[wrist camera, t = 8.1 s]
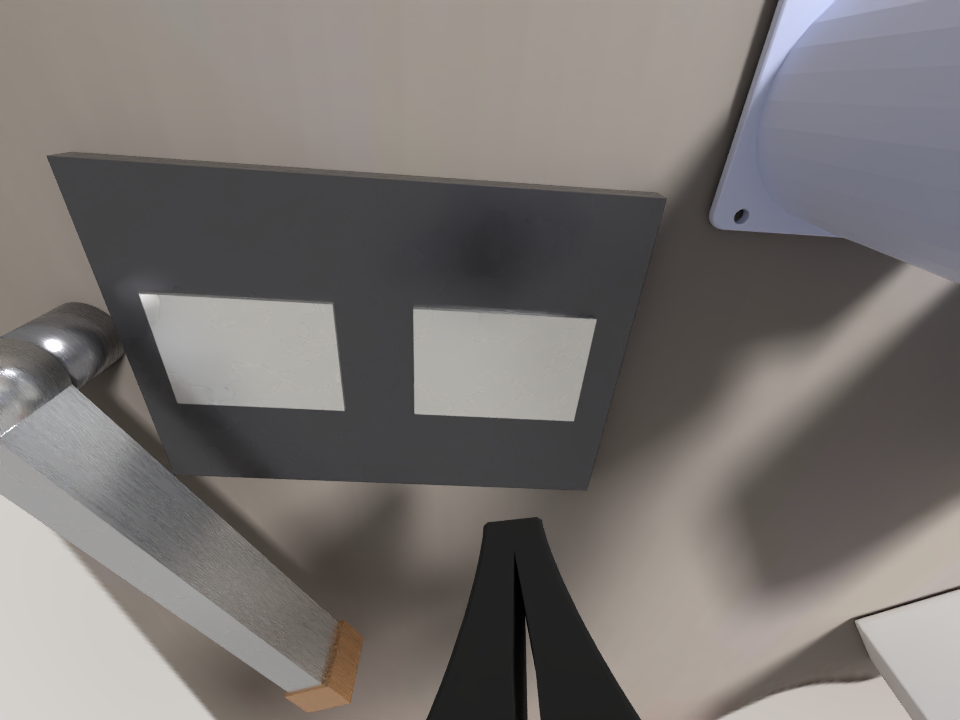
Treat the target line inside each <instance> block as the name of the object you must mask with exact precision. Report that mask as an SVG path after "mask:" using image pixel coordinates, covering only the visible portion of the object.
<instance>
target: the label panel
mask: <svg viewBox="0 0 960 720" xmlns="http://www.w3.org/2000/svg"><path fill="white" fill-rule="evenodd" d="M47 158H48V161H49V163H50V166H51V168H52V171H53V173H54V176H55V178H56V181H57V183H58V186H59V188H60V191H61V193H62V196H63V198H64V201H65V203H66V206H67V208H68V211H69V213H70V216H71V218H72V221H73V223H74V226H75V228H76V231H77V233H78V235H79V238H80V240H81V243H82V245H83V248H84V250H85V253H86V255H87V258H88V260H89V263H90V265H91V268H92V270H93V273H94V275H95V278H96V280H97V283H98V285H99V288H100V290H101V293H102V295H103V298H104V300H105V303H106V305H107V308H108V310H109V313H110V315H111V317H110V316H109V315H108V314H106V313H105V312H103V311H102V310H100V309H98V308H96V307H93V306H91V305H88V304H84V303H77V302H71V303H66V304H63V305H61V306H59V307H57V308H55V309H53V310H51V311H49V312H47V313H45V314H43V315H41V316H39V317H38V318H36V319H34V320H32V321H30V322H28V323H26V324H24V325H22V326H20V327H18V328H16V329H15V330H13V331H11V332H9V333H7V334H5V335H3V336H1V337H0V339H4V338H9V339H17V340H22V341H25V342H28V343H31V344H33V345H36V346H38V347H40V348H41V349H43V350H45V351H46V352H48V353H49V354H51V355H52V356H53V357H54V358H56V359H57V360H58V361H59V362H60V363H61V364H62V366H63V367H64V368H65V370H66V371H67V373H68V375H69V377H70V379H71V384H72V385H73V386H74V387H75V388H77V389H78V390H79V389H80V388H81V387H82V386H84V385H85V384H86V383H88V382H89V381H90V380H92V379H93V378H94V377H96V376H97V375H98V374H100V373H101V372H102V371H104V370H105V369H106V368H108V367H109V366H110V365H112V364H113V363H114V362H115V361H117V360H118V359H119V358H121V357H122V356H123V355H124V353H126V355H127V358H128V360H129V363H130V365H131V367H132V370H133V372H134V375H135V377H136V380H137V382H138V385H139V387H140V390H141V392H142V395H143V397H144V400H145V402H146V405H147V407H148V410H149V412H150V415H151V417H152V420H153V422H154V425H155V427H156V430H157V432H158V435H159V437H160V440H161V442H162V445H163V447H164V450H165V452H166V455H167V457H168V460H169V462H170V465H171V467H172V470H173V472H174V475H193V476H219V477H245V478H272V479H298V480H324V481H350V482H376V483H402V484H428V485H454V486H480V487H506V488H533V489H559V490H585V491H587V488H588V484H589V481H590V477H591V473H592V470H593V466H594V462H595V459H596V455H597V451H598V448H599V444H600V440H601V437H602V433H603V429H604V426H605V422H606V419H607V415H608V411H609V408H610V404H611V400H612V397H613V393H614V389H615V386H616V382H617V378H618V375H619V371H620V367H621V364H622V360H623V356H624V353H625V349H626V345H627V342H628V338H629V334H630V331H631V327H632V323H633V320H634V316H635V312H636V309H637V305H638V301H639V298H640V294H641V291H642V287H643V283H644V280H645V276H646V272H647V269H648V265H649V261H650V258H651V254H652V250H653V247H654V243H655V239H656V236H657V232H658V228H659V225H660V221H661V217H662V214H663V210H664V206H665V203H666V199H667V198H665V197H663V196H661V195H659V194H658V193H654V192H639V191H625V190H611V189H596V188H582V187H568V186H553V185H539V184H524V183H510V182H496V181H481V180H467V179H453V178H438V177H424V176H410V175H395V174H381V173H366V172H352V171H338V170H323V169H309V168H295V167H280V166H266V165H251V164H237V163H223V162H208V161H194V160H180V159H165V158H151V157H136V156H122V155H108V154H93V153H79V152H67V153H61V154H54V155H48V156H47Z"/></svg>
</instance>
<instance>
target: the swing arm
mask: <svg viewBox="0 0 960 720" xmlns="http://www.w3.org/2000/svg"><path fill="white" fill-rule="evenodd" d="M0 494H1V495H3V496H4V497H6V498H7V499H9V500H10V501H12V502H13V503H14V504H16V505H17V506H19V507H20V508H22V509H23V510H25V511H26V512H28V513H29V514H30V515H32V516H33V517H35V518H36V519H38V520H39V521H41V522H42V523H43V524H45V525H46V526H48V527H49V528H51V529H52V530H54V531H55V532H57V533H58V534H59V535H61V536H62V537H64V538H65V539H67V540H68V541H70V542H71V543H72V544H74V545H75V546H77V547H78V548H80V549H81V550H83V551H84V552H85V553H87V554H88V555H90V556H91V557H93V558H94V559H96V560H97V561H99V562H100V563H101V564H103V565H104V566H106V567H107V568H109V569H110V570H112V571H113V572H114V573H116V574H117V575H119V576H120V577H122V578H123V579H125V580H126V581H128V582H129V583H130V584H132V585H133V586H135V587H136V588H138V589H139V590H141V591H142V592H143V593H145V594H146V595H148V596H149V597H151V598H152V599H154V600H155V601H157V602H158V603H159V604H161V605H162V606H164V607H165V608H167V609H168V610H170V611H171V612H172V613H174V614H175V615H177V616H178V617H180V618H181V619H183V620H184V621H185V622H187V623H188V624H190V625H191V626H193V627H194V628H196V629H197V630H199V631H200V632H201V633H203V634H204V635H206V636H207V637H209V638H210V639H212V640H213V641H214V642H216V643H217V644H219V645H220V646H222V647H223V648H225V649H226V650H228V651H229V652H230V653H232V654H233V655H235V656H236V657H238V658H239V659H241V660H242V661H243V662H245V663H246V664H248V665H249V666H251V667H252V668H254V669H255V670H257V671H258V672H259V673H261V674H262V675H264V676H265V677H267V678H268V679H270V680H271V681H272V682H274V683H275V684H277V685H278V686H280V687H281V688H283V689H284V690H285V691H286V694H285V698H286V699H288V700H289V701H291V702H292V703H294V704H295V705H297V706H298V707H300V708H301V709H303V710H304V711H306V712H307V713H310V712H315V711H319V710H323V709H328V708H332V707H337V706H341V705H345V704H350V703H351V698H352V693H353V688H354V683H355V678H356V673H357V668H358V663H359V658H360V653H361V648H362V643H363V638H364V637H362V636H361V635H360V634H359V633H358V632H357V631H356V630H355V629H354V628H353V627H351V626H350V625H349V624H348V623H347V622H346V621H345V620H343V621H340V622H337V621H336V620H335V619H334V618H333V617H332V616H331V615H330V614H328V613H327V612H326V611H325V610H324V609H323V608H322V607H321V606H319V605H318V604H317V603H316V602H315V601H314V600H313V599H312V598H310V597H309V596H308V595H307V594H306V593H305V592H304V591H303V590H302V589H300V588H299V587H298V586H297V585H296V584H295V583H294V582H293V581H291V580H290V579H289V578H288V577H287V576H286V575H285V574H284V573H283V572H281V571H280V570H279V569H278V568H277V567H276V566H275V565H274V564H272V563H271V562H270V561H269V560H268V559H267V558H266V557H265V556H263V555H262V554H261V553H260V552H259V551H258V550H257V549H256V548H255V547H253V546H252V545H251V544H250V543H249V542H248V541H247V540H246V539H244V538H243V537H242V536H241V535H240V534H239V533H238V532H237V531H235V530H234V529H233V528H232V527H231V526H230V525H229V524H228V523H227V522H225V521H224V520H223V519H222V518H221V517H220V516H219V515H218V514H216V513H215V512H214V511H213V510H212V509H211V508H210V507H209V506H208V505H206V504H205V503H204V502H203V501H202V500H201V499H200V498H199V497H197V496H196V495H195V494H194V493H193V492H192V491H191V490H190V489H188V488H187V487H186V486H185V485H184V484H183V483H182V482H181V481H180V480H178V479H177V478H176V477H175V476H174V475H173V474H172V473H171V472H169V471H168V470H167V469H166V468H165V467H164V466H163V465H162V464H160V463H159V462H158V461H157V460H156V459H155V458H154V457H153V456H152V455H150V454H149V453H148V452H147V451H146V450H145V449H144V448H143V447H141V446H140V445H139V444H138V443H137V442H136V441H135V440H134V439H133V438H131V437H130V436H129V435H128V434H127V433H126V432H125V431H124V430H122V429H121V428H120V427H119V426H118V425H117V424H116V423H115V422H113V421H112V420H111V419H110V418H109V417H108V416H107V415H106V414H105V413H103V412H102V411H101V410H100V409H99V408H98V407H97V406H96V405H94V404H93V403H92V402H91V401H90V400H89V399H88V398H87V397H85V396H84V395H83V394H82V393H81V392H80V391H79V390H78V389H77V388H75V387H74V386H73V385H72V384H71V379H70V377H69V375H68V373H67V371H66V370H65V368H64V367H63V366H62V364H61V363H60V362H59V361H58V360H57V359H56V358H54V357H53V356H52V355H51V354H49V353H48V352H46V351H45V350H43V349H41V348H40V347H38V346H36V345H33V344H31V343H28V342H25V341H22V340H17V339H9V338H4V339H0Z"/></svg>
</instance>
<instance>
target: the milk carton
mask: <svg viewBox="0 0 960 720" xmlns="http://www.w3.org/2000/svg"><path fill="white" fill-rule="evenodd" d="M855 624H856V626H857V629H858V631H859V633H860V636H861V638H862V640H863V643H864V645H865V647H866V650H867V652H868V654H869V657H870V659H871V661H872V662H873V664H874V665H875V667H876V668H877V670H878V671H879V673H880V674H881V675H882V677H883V678H884V680H885V681H886V682H887V684H888V685H889V687H890V688H891V690H892V691H893V692H894V694H895V695H896V697H897V698H898V700H899V701H900V703H901V704H902V705H903V707H904V708H905V710H906V711H907V713H908V714H909V716H910V717H911V719H912V720H960V589H958V590H955V591H951V592H948V593H945V594H941V595H938V596H935V597H931V598H928V599H924V600H921V601H918V602H914V603H911V604H908V605H904V606H901V607H898V608H894V609H891V610H888V611H884V612H881V613H878V614H874V615H871V616H868V617H864V618H861V619H858V620H855Z"/></svg>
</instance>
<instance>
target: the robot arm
mask: <svg viewBox="0 0 960 720" xmlns="http://www.w3.org/2000/svg"><path fill="white" fill-rule="evenodd" d="M741 209H743V210H744V212H743V216H742V217H741V218H740V219H739V220H738V221H734V216H735V214H736V213H737V212H738V211H739V210H741ZM709 220H710V223H711V224H712V225H713V226H714V227H716V228H718V229H722V230H735V231H750V232H765V233H780V234H796V235H811V236H826V237H841V238H846V239H848V240H851V241H853V242H856V243H858V244H861V245H863V246H866V247H868V248H871V249H873V250H876V251H878V252H881V253H883V254H886V255H888V256H891V257H893V258H896V259H898V260H901V261H903V262H906V263H908V264H911V265H913V266H916V267H918V268H921V269H923V270H926V271H928V272H931V273H933V274H936V275H938V276H941V277H943V278H946V279H948V280H951V281H953V282H956V283H958V284H960V0H779V1H778V4H777V7H776V10H775V14H774V17H773V20H772V23H771V26H770V29H769V32H768V35H767V38H766V41H765V44H764V47H763V50H762V53H761V56H760V59H759V63H758V66H757V69H756V72H755V75H754V78H753V81H752V84H751V87H750V90H749V93H748V96H747V99H746V102H745V105H744V108H743V112H742V115H741V118H740V121H739V124H738V127H737V130H736V133H735V136H734V139H733V142H732V145H731V148H730V151H729V154H728V157H727V161H726V164H725V167H724V170H723V173H722V176H721V179H720V182H719V185H718V188H717V191H716V194H715V197H714V200H713V203H712V206H711V210H710V213H709ZM525 616H526V622H527V627H528V633H529V638H530V643H531V649H532V654H533V659H534V665H535V670H536V678H537V688H538V698H539V708H540V718H541V720H641V719H640V717H639V716H638V714H637V713H636V711H635V710H634V708H633V706H632V705H631V703H630V702H629V700H628V699H627V697H626V695H625V694H624V692H623V691H622V689H621V687H620V686H619V684H618V682H617V681H616V679H615V677H614V676H613V674H612V673H611V671H610V669H609V667H608V666H607V664H606V662H605V661H604V659H603V657H602V655H601V654H600V652H599V650H598V648H597V646H596V645H595V643H594V641H593V639H592V637H591V636H590V634H589V632H588V630H587V628H586V626H585V624H584V622H583V621H582V619H581V617H580V615H579V613H578V611H577V609H576V607H575V605H574V603H573V601H572V598H571V596H570V594H569V592H568V590H567V588H566V586H565V584H564V582H563V579H562V577H561V575H560V573H559V570H558V568H557V565H556V563H555V560H554V558H553V556H552V553H551V550H550V547H549V545H548V542H547V539H546V535H545V532H544V528H543V524H542V520H541V519H539V518H538V517H533V518H524V519H515V520H506V521H496V522H488V523H487V524H485V525H484V528H483V538H482V545H481V551H480V556H479V561H478V566H477V570H476V574H475V579H474V583H473V586H472V590H471V594H470V597H469V601H468V605H467V608H466V612H465V615H464V619H463V622H462V625H461V628H460V631H459V634H458V637H457V640H456V643H455V646H454V649H453V652H452V655H451V658H450V661H449V663H448V666H447V669H446V672H445V674H444V677H443V680H442V682H441V685H440V687H439V690H438V692H437V695H436V697H435V700H434V702H433V705H432V707H431V710H430V712H429V715H428V717H427V719H426V720H527V674H526V629H525Z"/></svg>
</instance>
